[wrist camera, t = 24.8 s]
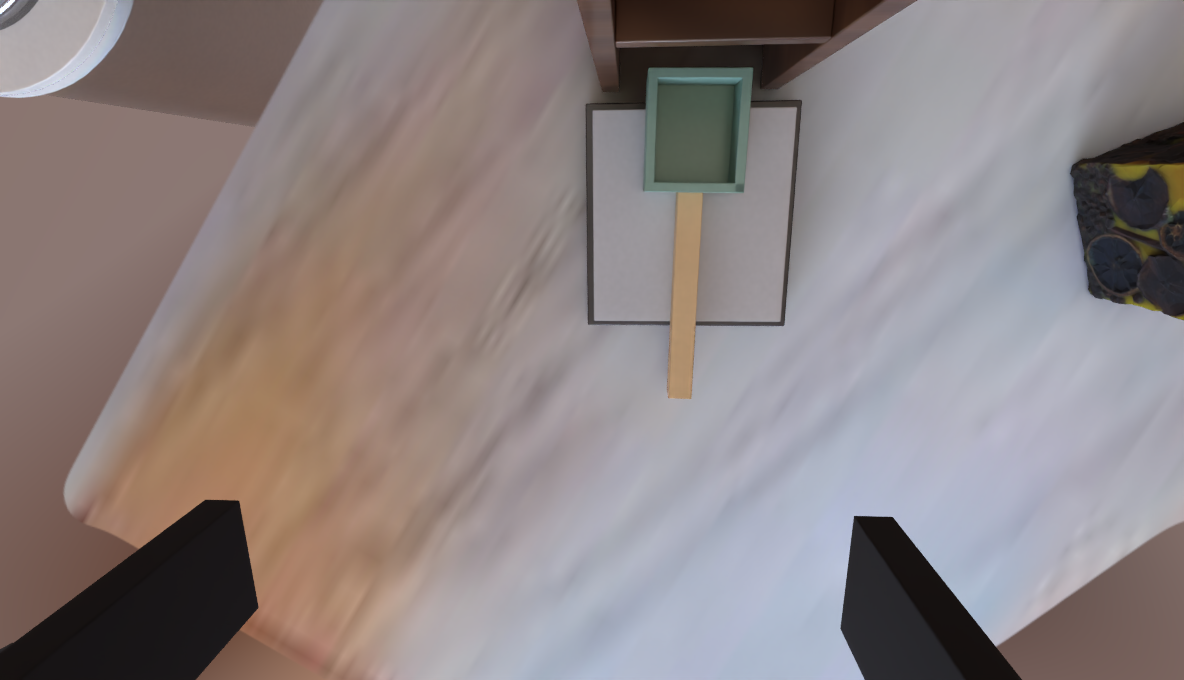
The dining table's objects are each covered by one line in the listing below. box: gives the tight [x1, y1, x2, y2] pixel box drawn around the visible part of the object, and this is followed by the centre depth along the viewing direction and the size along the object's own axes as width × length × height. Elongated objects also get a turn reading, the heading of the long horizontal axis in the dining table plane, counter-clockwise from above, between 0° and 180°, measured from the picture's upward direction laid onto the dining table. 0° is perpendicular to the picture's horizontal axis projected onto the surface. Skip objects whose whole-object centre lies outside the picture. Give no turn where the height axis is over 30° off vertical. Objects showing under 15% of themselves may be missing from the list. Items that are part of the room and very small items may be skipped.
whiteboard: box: [586, 100, 802, 326], centre depth 41 cm, size 15×14×3 cm
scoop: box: [643, 67, 753, 399], centre depth 38 cm, size 21×6×4 cm, turn 179°
